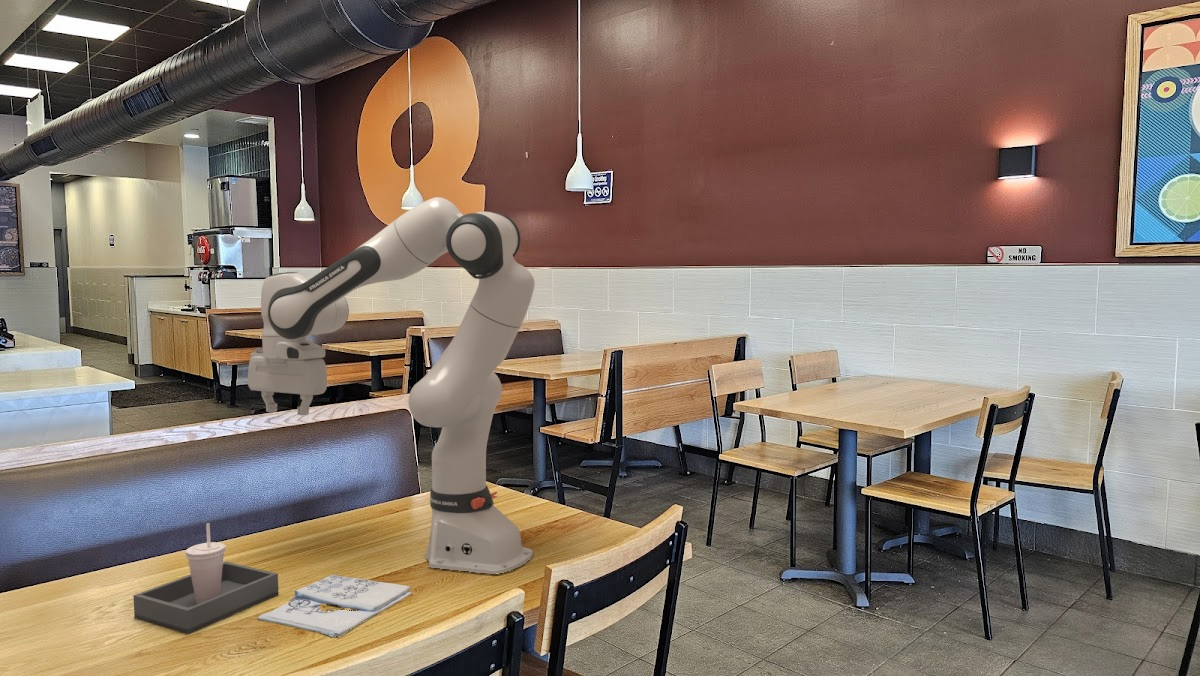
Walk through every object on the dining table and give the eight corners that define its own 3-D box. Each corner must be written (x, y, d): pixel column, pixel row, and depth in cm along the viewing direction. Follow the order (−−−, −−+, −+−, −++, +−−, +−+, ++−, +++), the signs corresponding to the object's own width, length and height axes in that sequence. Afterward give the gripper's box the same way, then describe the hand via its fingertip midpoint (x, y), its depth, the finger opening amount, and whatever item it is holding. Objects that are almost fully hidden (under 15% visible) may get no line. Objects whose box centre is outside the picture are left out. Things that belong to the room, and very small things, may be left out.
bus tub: (278, 594, 144) (277, 573, 143) (188, 634, 128) (187, 610, 127) (226, 581, 150) (225, 561, 150) (134, 618, 134) (133, 595, 134)
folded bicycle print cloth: (414, 596, 144) (414, 585, 144) (336, 643, 126) (335, 630, 125) (334, 580, 152) (333, 570, 152) (249, 622, 133) (248, 610, 133)
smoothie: (220, 607, 136) (216, 528, 135) (181, 609, 135) (177, 530, 134) (233, 593, 142) (230, 517, 141) (196, 595, 142) (192, 519, 141)
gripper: (238, 348, 169) (241, 412, 170) (307, 351, 159) (310, 419, 160) (263, 346, 174) (265, 407, 175) (331, 349, 165) (333, 414, 166)
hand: (287, 413), depth 168 cm, fingers open, 8 cm apart
